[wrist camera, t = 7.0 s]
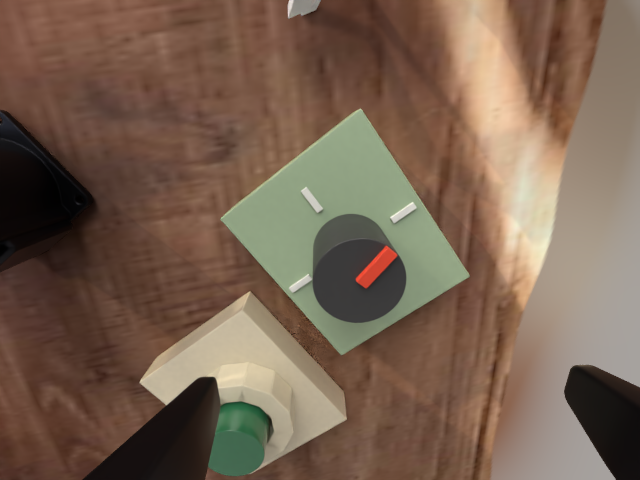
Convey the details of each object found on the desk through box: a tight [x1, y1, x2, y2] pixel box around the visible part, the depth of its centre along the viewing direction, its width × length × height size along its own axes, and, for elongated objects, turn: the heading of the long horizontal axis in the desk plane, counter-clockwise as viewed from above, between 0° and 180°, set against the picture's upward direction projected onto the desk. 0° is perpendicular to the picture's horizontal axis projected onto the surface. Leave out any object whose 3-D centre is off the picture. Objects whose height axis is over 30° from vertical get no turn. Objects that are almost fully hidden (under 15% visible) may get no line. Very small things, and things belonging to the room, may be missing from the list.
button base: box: [140, 291, 347, 474], centre depth 21 cm, size 11×9×4 cm
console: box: [221, 109, 470, 355], centre depth 18 cm, size 11×9×3 cm
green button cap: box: [208, 401, 269, 476], centre depth 19 cm, size 4×4×2 cm
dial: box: [312, 214, 407, 323], centre depth 15 cm, size 4×4×4 cm
